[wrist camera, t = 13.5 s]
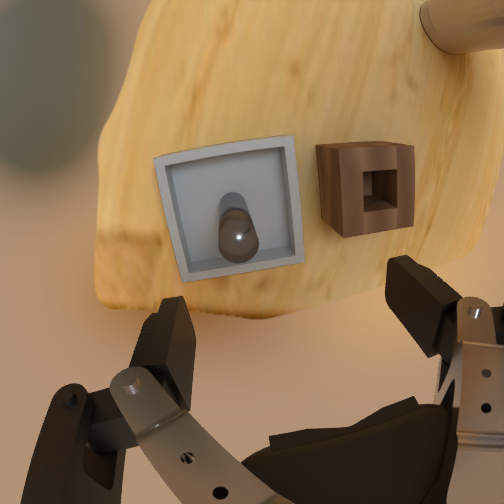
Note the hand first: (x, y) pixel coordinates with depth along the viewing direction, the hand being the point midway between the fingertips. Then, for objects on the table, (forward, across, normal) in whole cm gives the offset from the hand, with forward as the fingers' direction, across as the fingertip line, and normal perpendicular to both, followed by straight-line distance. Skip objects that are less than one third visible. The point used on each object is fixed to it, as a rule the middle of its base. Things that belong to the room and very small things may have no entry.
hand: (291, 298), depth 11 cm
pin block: (+24, -13, +1) cm, 27 cm away
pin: (+23, +2, +2) cm, 23 cm away
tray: (+24, +2, +2) cm, 24 cm away
